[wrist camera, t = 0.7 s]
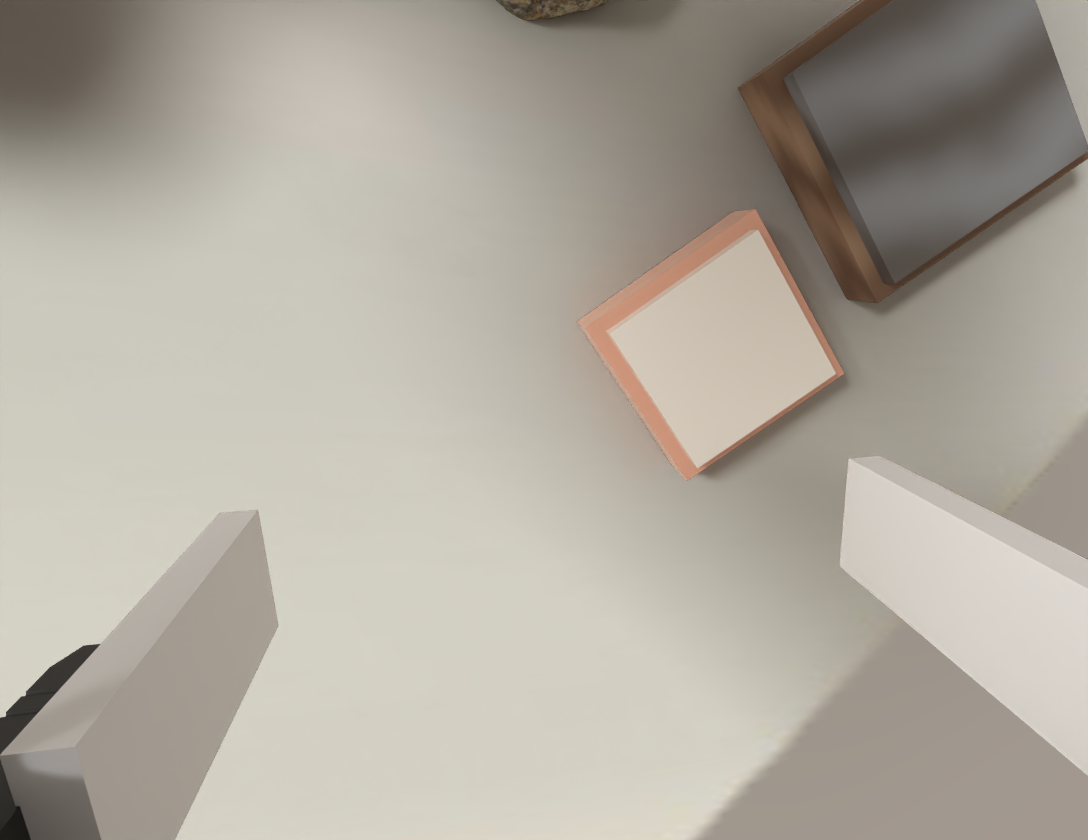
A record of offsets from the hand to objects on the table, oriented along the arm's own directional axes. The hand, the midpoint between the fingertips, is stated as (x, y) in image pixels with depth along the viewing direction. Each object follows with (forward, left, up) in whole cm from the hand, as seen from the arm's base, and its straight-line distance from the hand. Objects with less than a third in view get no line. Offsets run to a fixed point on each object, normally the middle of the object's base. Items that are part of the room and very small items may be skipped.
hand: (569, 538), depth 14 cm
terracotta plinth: (+6, +10, -24) cm, 27 cm away
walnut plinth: (+2, +26, -24) cm, 36 cm away
